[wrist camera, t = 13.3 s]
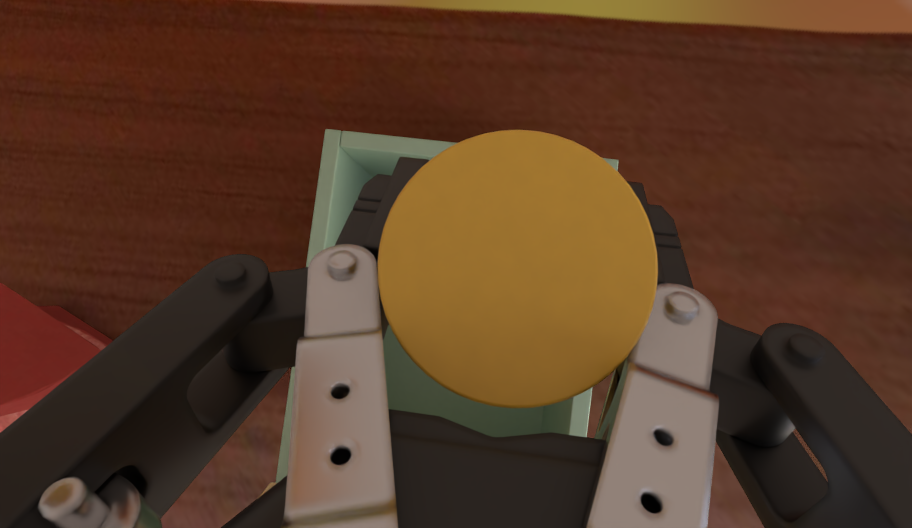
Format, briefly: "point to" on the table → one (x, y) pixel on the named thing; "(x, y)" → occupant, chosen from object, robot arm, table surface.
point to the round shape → (517, 269)
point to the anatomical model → (38, 351)
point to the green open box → (408, 386)
